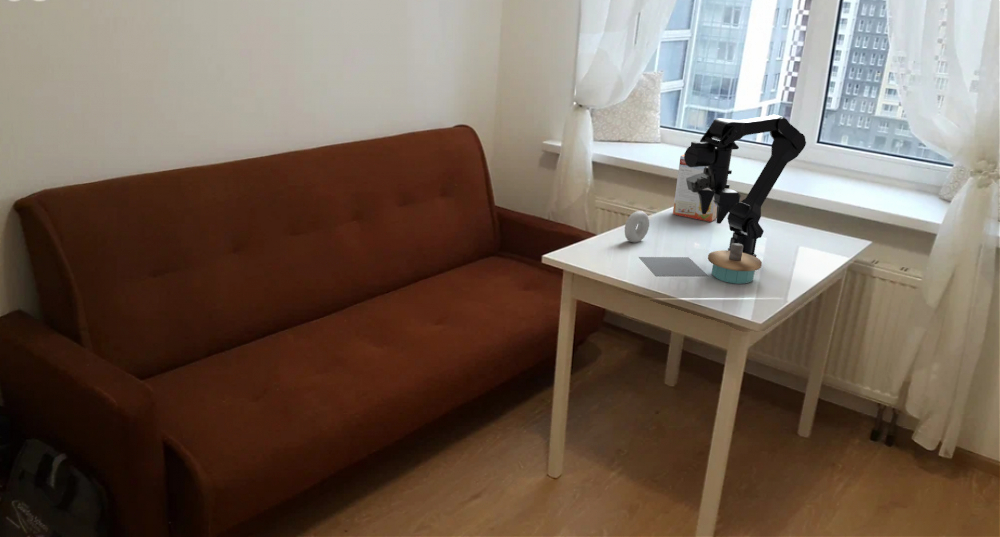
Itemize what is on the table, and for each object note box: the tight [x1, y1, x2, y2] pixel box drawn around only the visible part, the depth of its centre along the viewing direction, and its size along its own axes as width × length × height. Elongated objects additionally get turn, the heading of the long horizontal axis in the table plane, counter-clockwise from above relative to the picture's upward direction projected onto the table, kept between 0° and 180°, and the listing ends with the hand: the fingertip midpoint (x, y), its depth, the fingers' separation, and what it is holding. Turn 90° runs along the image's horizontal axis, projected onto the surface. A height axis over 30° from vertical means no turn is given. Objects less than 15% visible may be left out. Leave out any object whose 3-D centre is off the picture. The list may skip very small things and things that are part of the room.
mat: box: [638, 256, 709, 277], centre depth 212 cm, size 15×15×1 cm
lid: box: [707, 243, 763, 271], centre depth 204 cm, size 14×14×5 cm
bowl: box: [711, 264, 756, 285], centre depth 206 cm, size 11×11×5 cm
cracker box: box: [672, 154, 717, 223], centre depth 258 cm, size 14×6×21 cm, turn 58°
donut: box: [624, 210, 650, 243], centre depth 230 cm, size 10×4×10 cm, turn 133°
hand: (711, 218), depth 217 cm, fingers open, 9 cm apart
